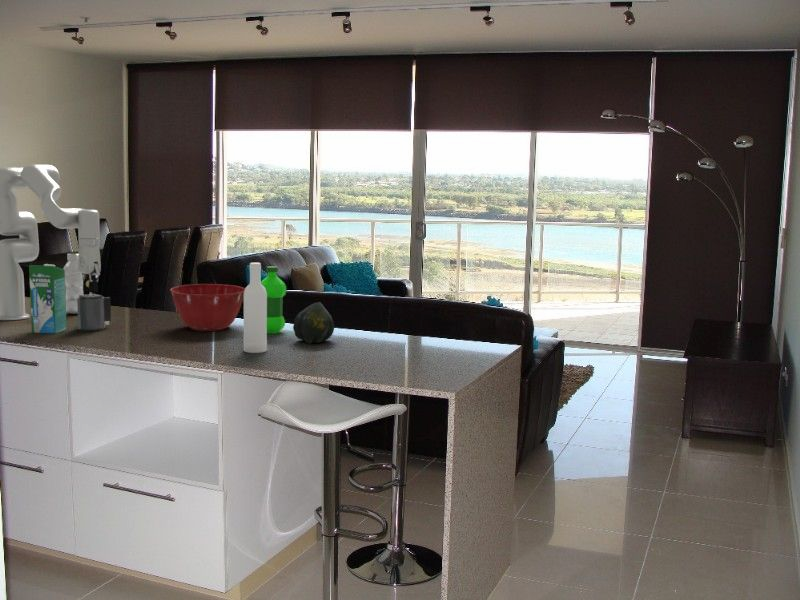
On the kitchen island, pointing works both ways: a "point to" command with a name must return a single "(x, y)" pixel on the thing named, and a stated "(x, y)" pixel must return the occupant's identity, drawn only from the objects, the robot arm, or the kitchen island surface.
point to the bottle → (255, 313)
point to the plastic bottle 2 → (274, 300)
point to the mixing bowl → (208, 305)
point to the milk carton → (47, 299)
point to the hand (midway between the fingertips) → (90, 290)
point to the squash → (314, 324)
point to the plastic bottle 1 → (72, 283)
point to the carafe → (93, 312)
